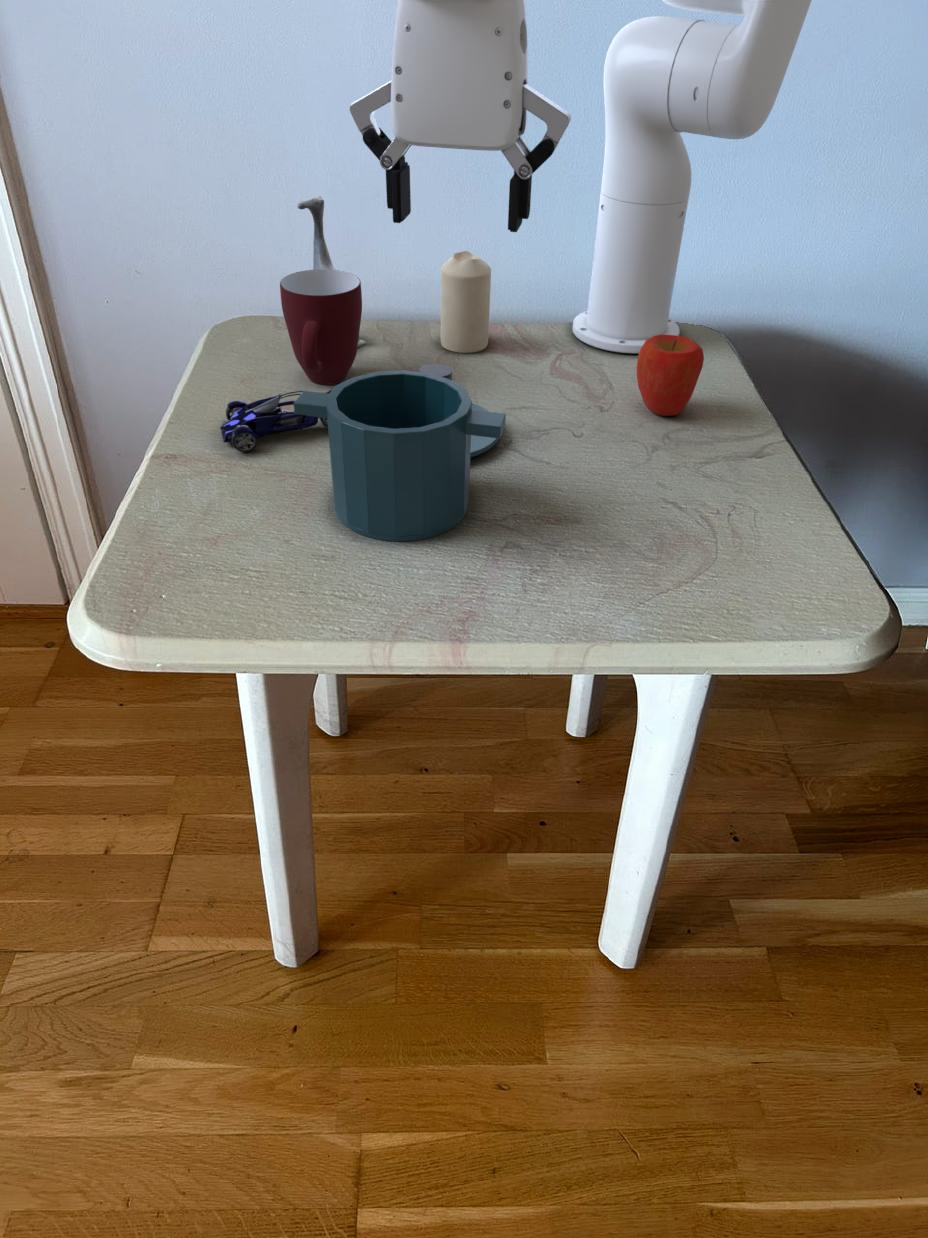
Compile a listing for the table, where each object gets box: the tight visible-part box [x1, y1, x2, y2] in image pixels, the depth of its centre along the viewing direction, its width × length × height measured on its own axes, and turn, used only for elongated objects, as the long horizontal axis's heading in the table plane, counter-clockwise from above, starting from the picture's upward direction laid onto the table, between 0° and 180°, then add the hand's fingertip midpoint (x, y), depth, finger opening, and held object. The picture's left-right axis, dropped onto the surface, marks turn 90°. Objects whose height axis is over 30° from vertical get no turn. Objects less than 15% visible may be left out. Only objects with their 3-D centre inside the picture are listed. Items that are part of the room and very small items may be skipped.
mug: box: [279, 269, 363, 385], centre depth 91 cm, size 11×8×10 cm
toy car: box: [219, 389, 332, 453], centre depth 84 cm, size 12×6×4 cm, turn 107°
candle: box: [440, 250, 492, 354], centre depth 100 cm, size 6×6×10 cm
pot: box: [293, 370, 507, 542], centre depth 73 cm, size 11×17×10 cm
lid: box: [418, 363, 500, 459], centre depth 83 cm, size 12×12×7 cm
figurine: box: [296, 196, 366, 349], centre depth 98 cm, size 11×6×15 cm, turn 14°
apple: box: [636, 335, 705, 417], centre depth 89 cm, size 6×6×8 cm
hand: (458, 222), depth 74 cm, fingers open, 9 cm apart
